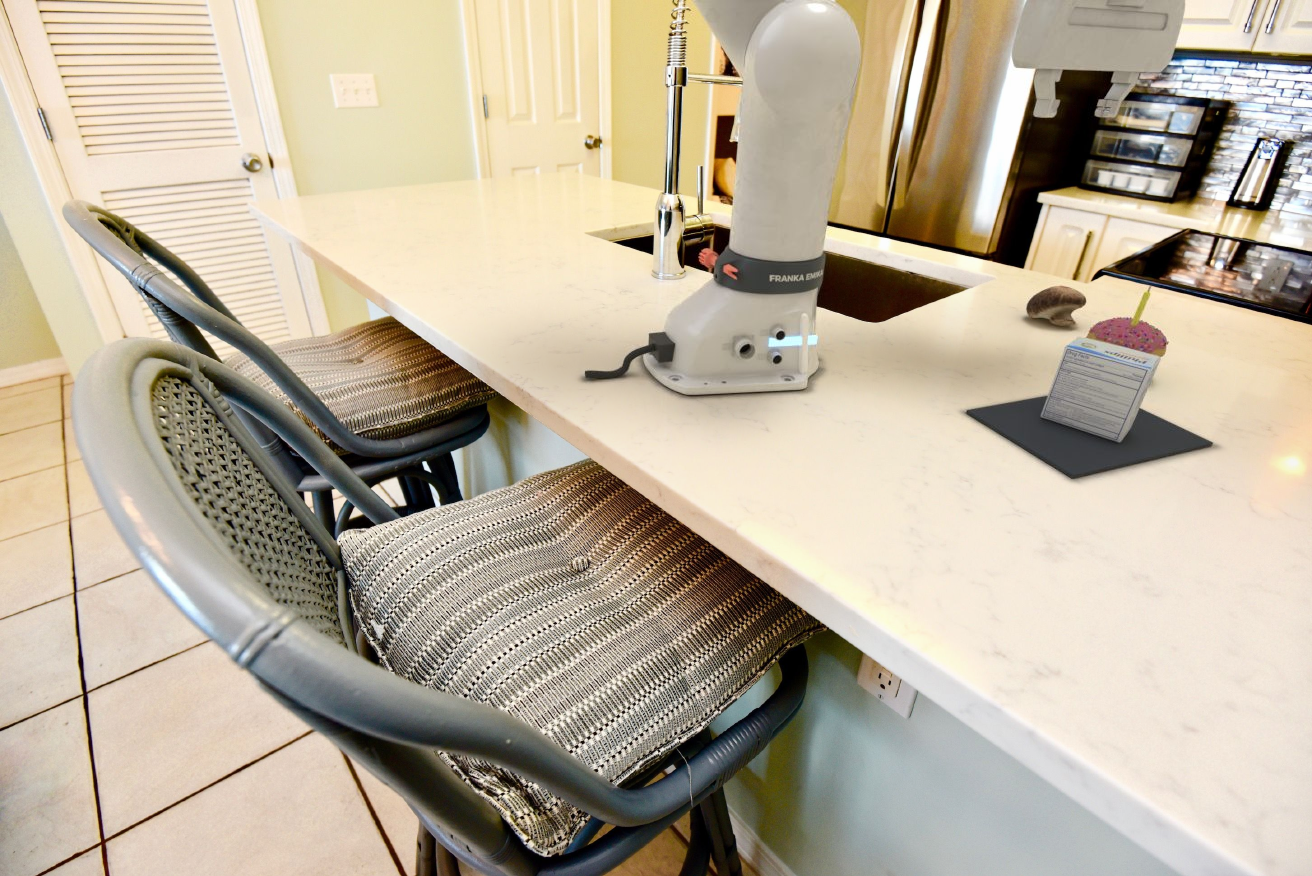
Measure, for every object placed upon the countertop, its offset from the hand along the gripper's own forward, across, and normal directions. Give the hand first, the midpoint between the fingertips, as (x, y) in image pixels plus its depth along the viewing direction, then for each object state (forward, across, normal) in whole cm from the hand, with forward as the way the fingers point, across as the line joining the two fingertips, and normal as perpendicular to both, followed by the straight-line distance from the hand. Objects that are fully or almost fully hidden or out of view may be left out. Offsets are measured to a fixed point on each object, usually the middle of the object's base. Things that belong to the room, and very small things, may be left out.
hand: (1074, 117), depth 75 cm
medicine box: (+29, +7, +19) cm, 35 cm away
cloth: (+29, +7, +19) cm, 35 cm away
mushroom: (+29, -18, -8) cm, 35 cm away
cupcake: (+29, -10, +9) cm, 32 cm away
